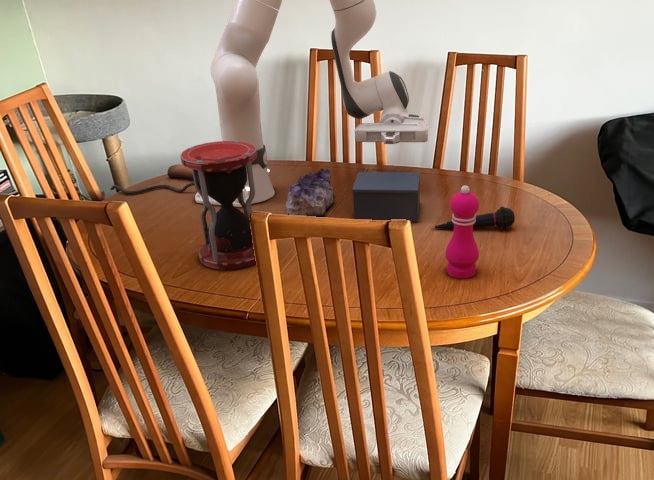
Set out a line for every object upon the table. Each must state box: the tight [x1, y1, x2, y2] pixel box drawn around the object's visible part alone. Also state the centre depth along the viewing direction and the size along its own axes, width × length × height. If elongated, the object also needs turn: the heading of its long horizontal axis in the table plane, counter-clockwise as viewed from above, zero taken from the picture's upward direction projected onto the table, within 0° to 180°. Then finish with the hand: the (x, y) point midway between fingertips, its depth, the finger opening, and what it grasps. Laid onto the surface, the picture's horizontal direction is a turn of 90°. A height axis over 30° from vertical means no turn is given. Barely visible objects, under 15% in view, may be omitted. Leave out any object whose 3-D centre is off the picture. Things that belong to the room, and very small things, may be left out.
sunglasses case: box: [167, 163, 194, 180], centre depth 193 cm, size 18×7×7 cm, turn 68°
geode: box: [285, 168, 335, 217], centre depth 169 cm, size 20×12×10 cm, turn 169°
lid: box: [351, 171, 421, 193], centre depth 162 cm, size 13×17×1 cm
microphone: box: [434, 206, 516, 231], centre depth 155 cm, size 6×6×20 cm
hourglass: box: [179, 140, 257, 271], centre depth 140 cm, size 16×16×25 cm
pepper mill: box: [444, 184, 480, 279], centre depth 131 cm, size 7×7×20 cm
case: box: [352, 176, 421, 223], centre depth 164 cm, size 13×17×8 cm
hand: (389, 141), depth 165 cm, fingers closed
